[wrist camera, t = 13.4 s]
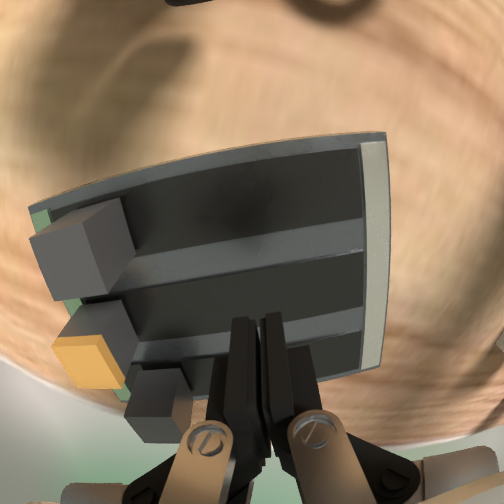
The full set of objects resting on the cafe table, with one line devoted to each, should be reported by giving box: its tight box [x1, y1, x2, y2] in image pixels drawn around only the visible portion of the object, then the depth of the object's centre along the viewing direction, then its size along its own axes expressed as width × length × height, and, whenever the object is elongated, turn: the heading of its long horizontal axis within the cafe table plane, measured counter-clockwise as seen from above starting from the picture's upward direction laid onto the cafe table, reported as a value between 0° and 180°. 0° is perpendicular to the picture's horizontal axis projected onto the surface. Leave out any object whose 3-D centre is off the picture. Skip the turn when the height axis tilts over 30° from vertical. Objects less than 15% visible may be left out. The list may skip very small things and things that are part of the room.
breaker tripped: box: [51, 300, 139, 389], centre depth 14 cm, size 3×3×4 cm
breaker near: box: [29, 197, 136, 301], centre depth 12 cm, size 3×3×4 cm
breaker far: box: [124, 368, 193, 443], centre depth 16 cm, size 3×3×4 cm
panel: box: [28, 131, 391, 402], centre depth 17 cm, size 20×16×2 cm
